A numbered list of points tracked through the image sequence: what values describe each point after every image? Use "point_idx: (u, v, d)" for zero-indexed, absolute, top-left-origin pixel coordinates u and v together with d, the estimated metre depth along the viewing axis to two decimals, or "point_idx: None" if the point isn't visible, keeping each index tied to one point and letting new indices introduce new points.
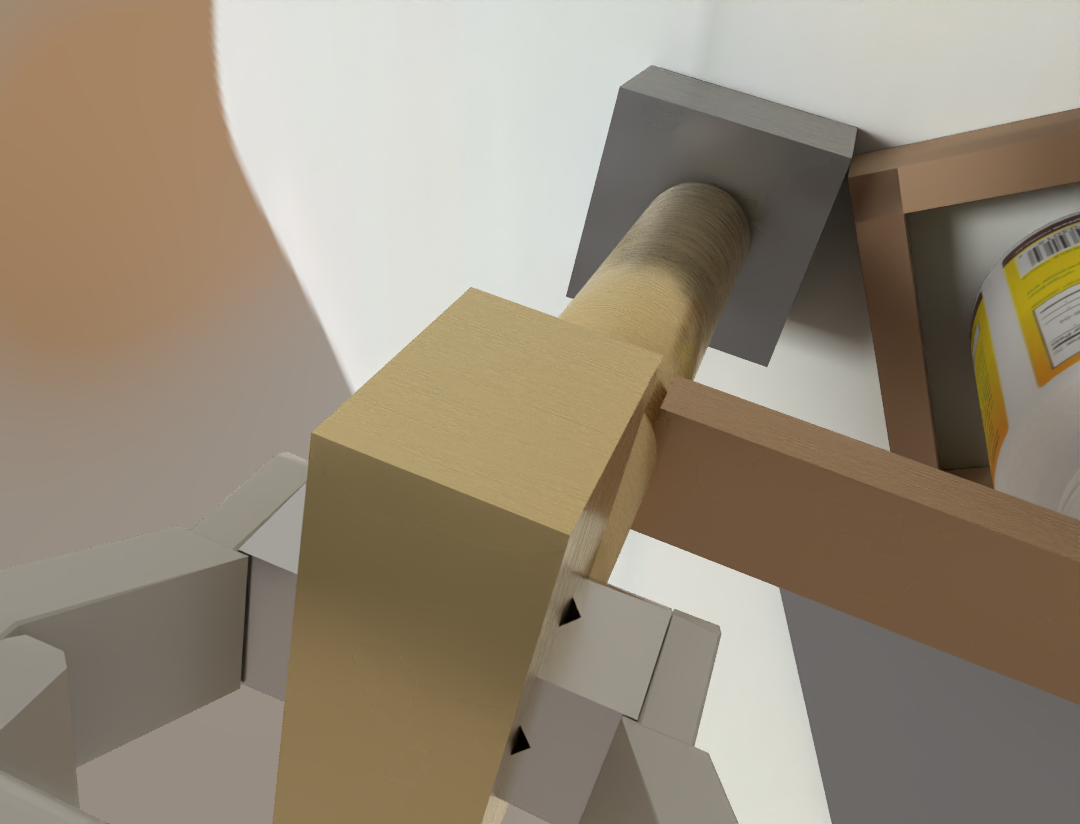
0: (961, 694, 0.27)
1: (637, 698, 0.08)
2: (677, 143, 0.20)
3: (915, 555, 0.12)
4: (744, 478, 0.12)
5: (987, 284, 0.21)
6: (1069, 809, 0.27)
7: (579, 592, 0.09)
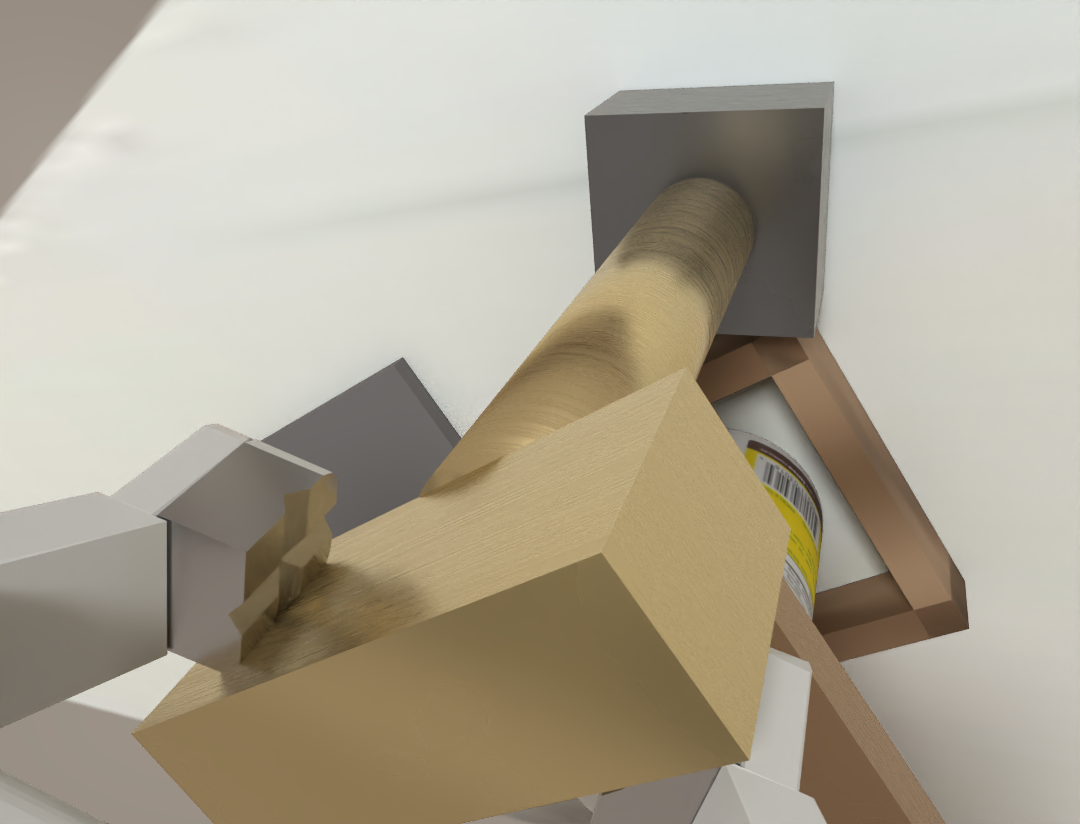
0: None
1: None
2: (783, 183, 0.19)
3: None
4: None
5: None
6: None
7: None
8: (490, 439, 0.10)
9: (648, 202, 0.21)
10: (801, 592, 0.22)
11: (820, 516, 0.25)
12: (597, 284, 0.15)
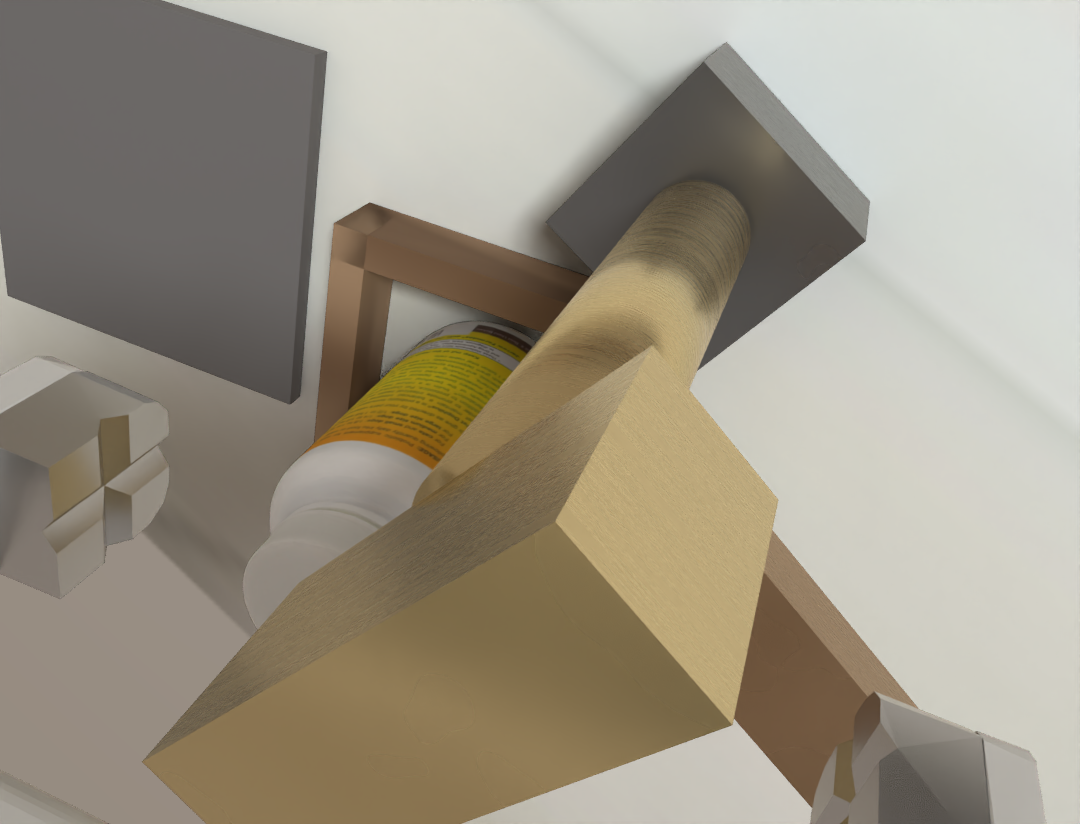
0: (170, 170, 0.27)
1: None
2: (785, 260, 0.20)
3: (789, 673, 0.13)
4: None
5: None
6: (51, 204, 0.29)
7: (883, 716, 0.09)
8: (476, 443, 0.10)
9: (680, 174, 0.20)
10: None
11: None
12: (586, 289, 0.15)
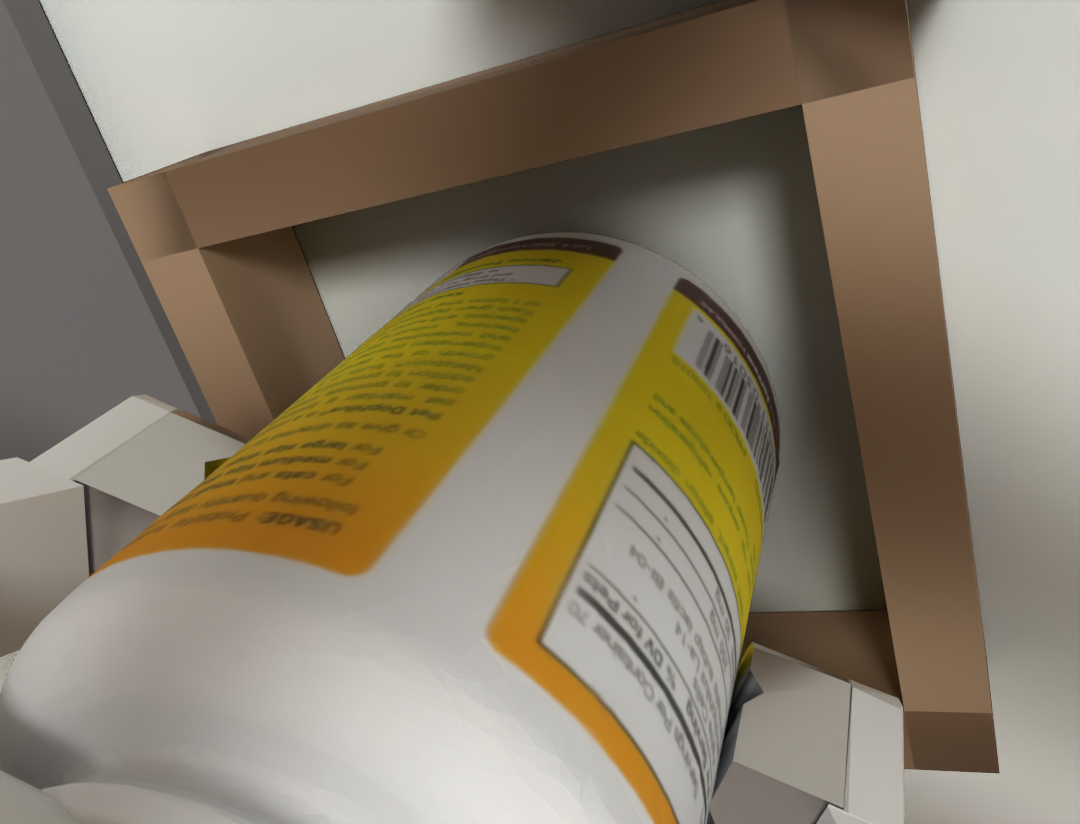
0: None
1: (837, 783, 0.08)
2: None
3: None
4: None
5: (638, 261, 0.11)
6: None
7: (755, 664, 0.09)
8: None
9: None
10: (729, 659, 0.08)
11: (775, 478, 0.12)
12: None
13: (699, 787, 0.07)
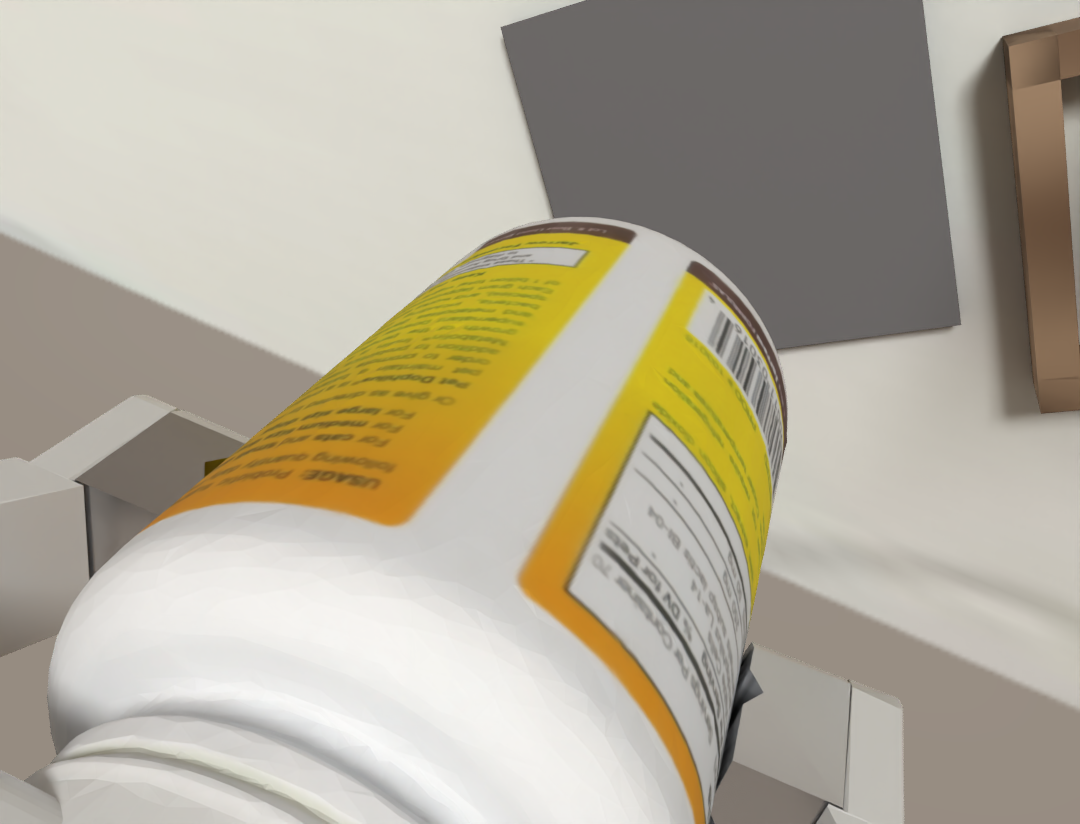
0: (758, 129, 0.26)
1: (837, 783, 0.08)
2: None
3: None
4: None
5: (651, 244, 0.12)
6: None
7: (755, 664, 0.09)
8: None
9: None
10: (740, 619, 0.09)
11: None
12: None
13: (713, 734, 0.07)
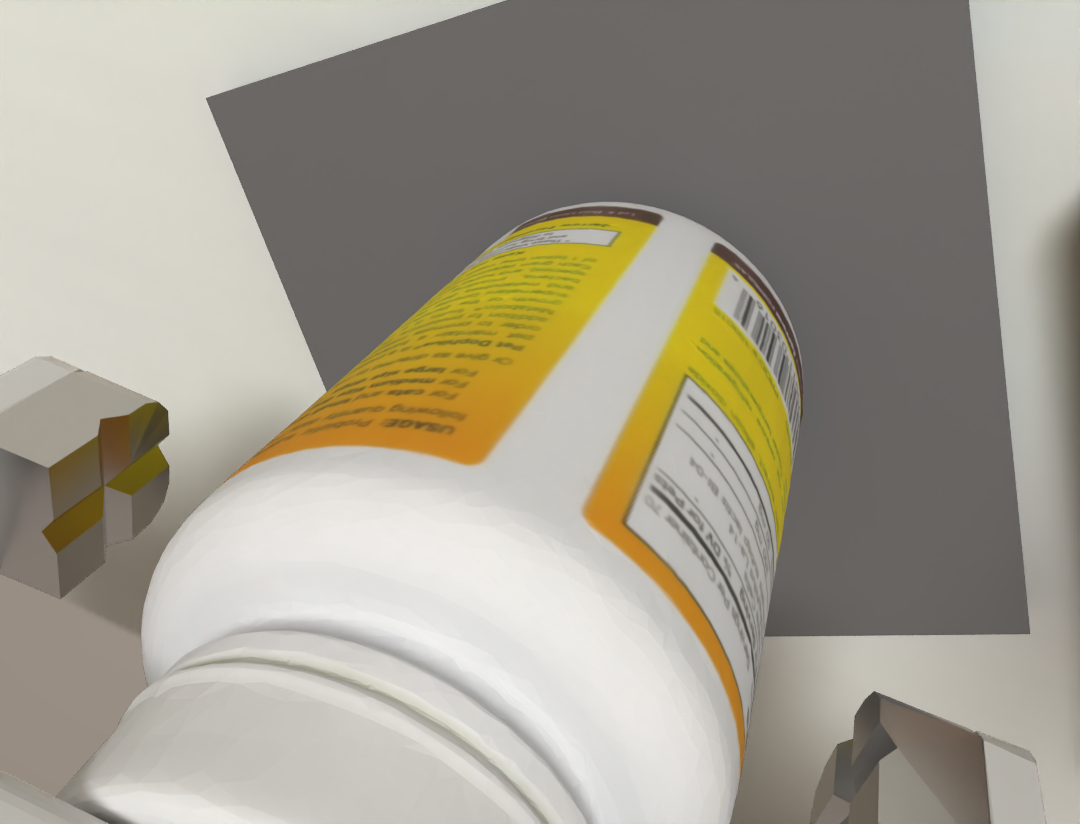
0: None
1: None
2: None
3: None
4: None
5: (678, 227, 0.12)
6: None
7: (883, 716, 0.09)
8: None
9: None
10: (769, 566, 0.09)
11: None
12: None
13: (750, 662, 0.08)
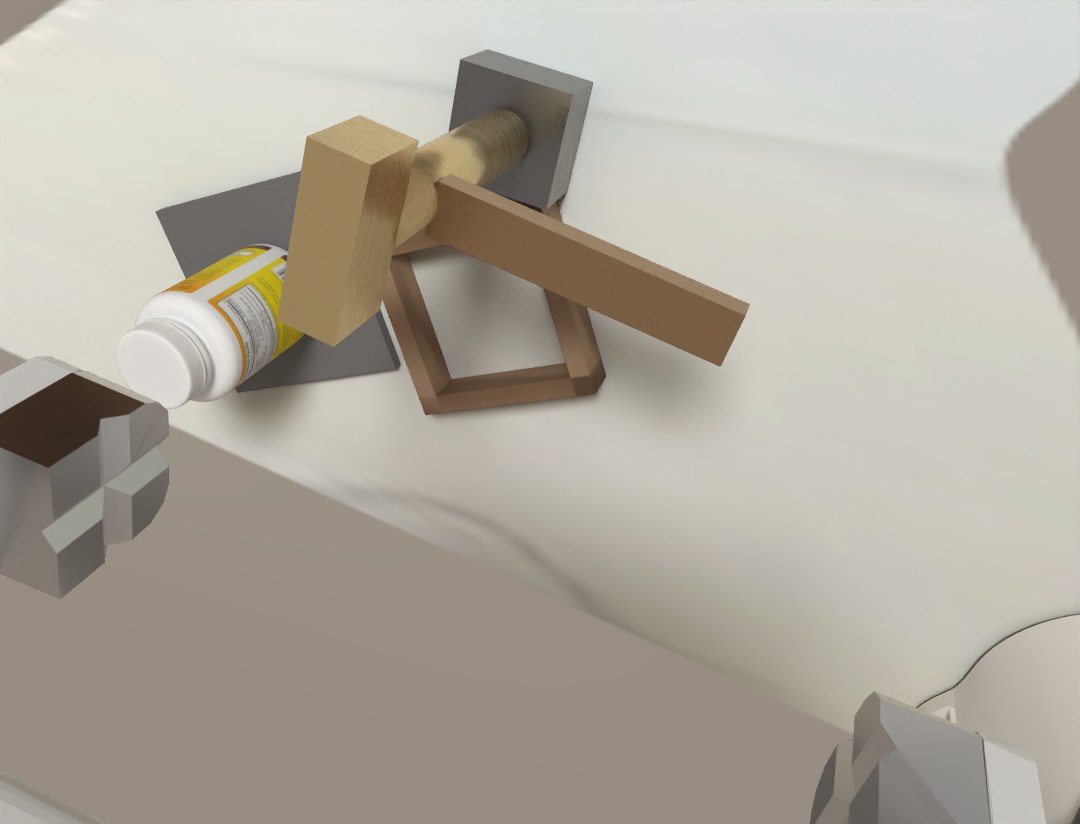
0: None
1: None
2: (547, 125, 0.39)
3: (530, 244, 0.31)
4: (469, 211, 0.31)
5: (274, 250, 0.48)
6: None
7: (883, 716, 0.09)
8: None
9: (481, 114, 0.39)
10: (266, 323, 0.45)
11: None
12: None
13: (248, 334, 0.43)
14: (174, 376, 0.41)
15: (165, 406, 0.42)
